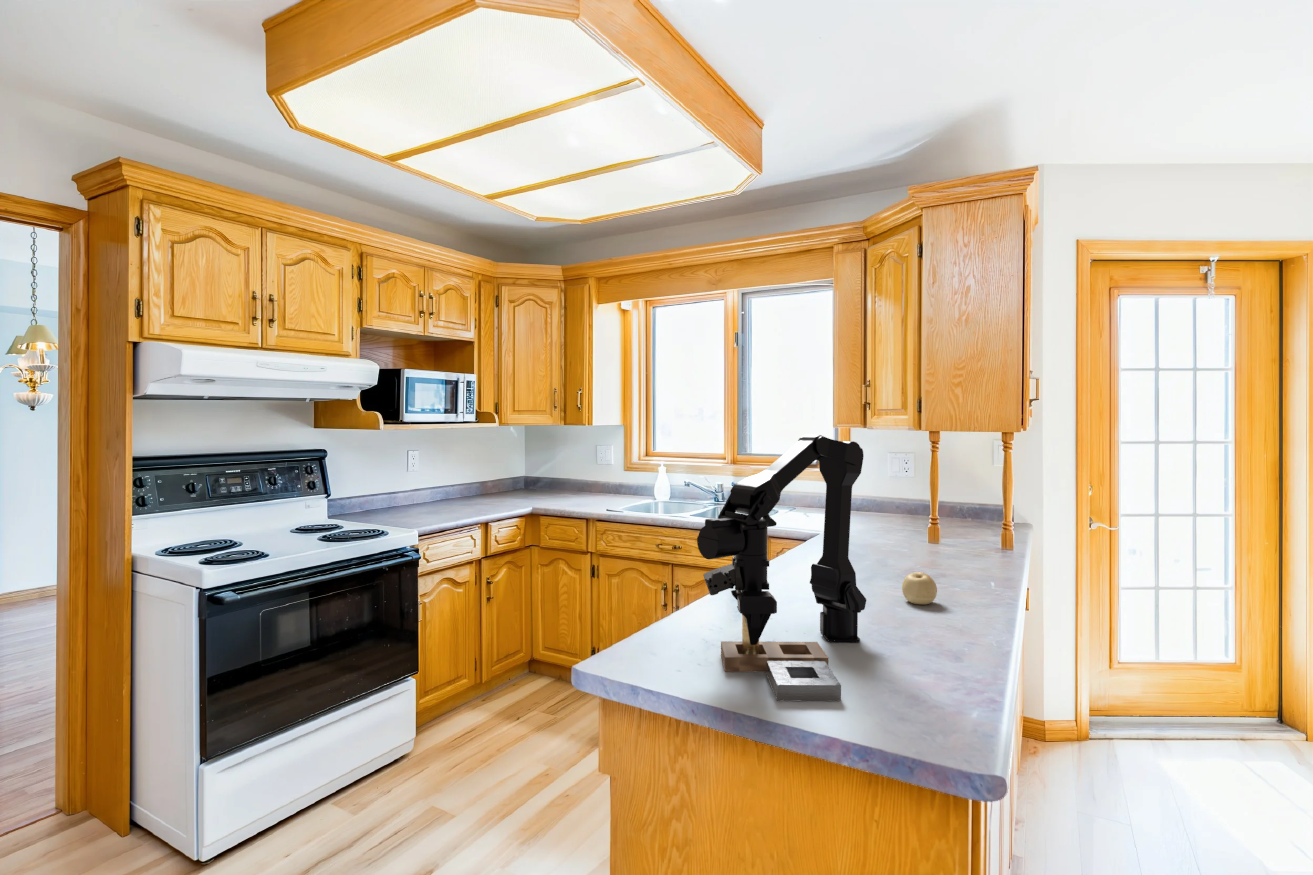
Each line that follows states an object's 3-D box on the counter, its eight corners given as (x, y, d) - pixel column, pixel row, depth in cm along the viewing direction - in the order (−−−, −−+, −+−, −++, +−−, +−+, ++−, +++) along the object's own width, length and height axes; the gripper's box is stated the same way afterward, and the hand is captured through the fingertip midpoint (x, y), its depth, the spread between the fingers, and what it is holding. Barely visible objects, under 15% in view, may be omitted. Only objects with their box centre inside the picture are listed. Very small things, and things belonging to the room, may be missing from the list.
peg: (757, 659, 117) (757, 611, 116) (760, 666, 114) (760, 616, 114) (741, 659, 117) (741, 611, 117) (743, 666, 114) (743, 616, 114)
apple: (933, 596, 157) (943, 574, 153) (928, 617, 151) (938, 595, 147) (901, 583, 160) (910, 561, 156) (894, 603, 154) (904, 581, 150)
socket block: (824, 675, 110) (824, 660, 110) (841, 701, 100) (841, 685, 100) (766, 675, 110) (766, 660, 110) (777, 700, 100) (777, 684, 100)
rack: (817, 655, 119) (817, 641, 119) (828, 671, 111) (828, 657, 111) (720, 654, 119) (720, 641, 119) (725, 671, 111) (725, 657, 111)
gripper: (703, 542, 124) (703, 621, 125) (710, 564, 105) (710, 657, 106) (760, 542, 124) (760, 621, 124) (777, 564, 105) (777, 657, 106)
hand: (750, 638), depth 115 cm, fingers open, 6 cm apart
